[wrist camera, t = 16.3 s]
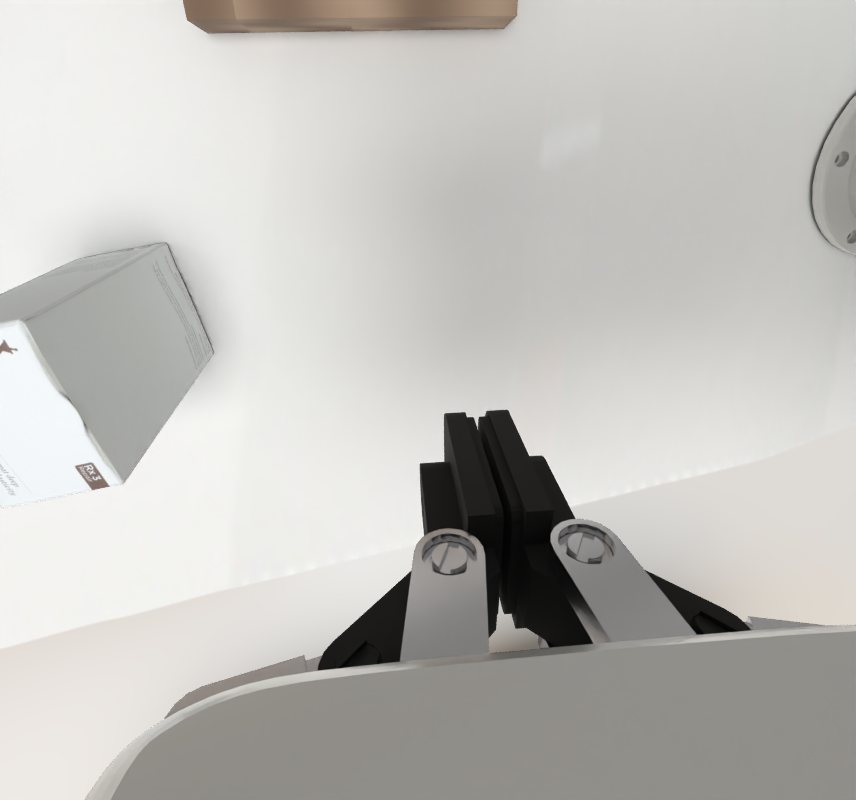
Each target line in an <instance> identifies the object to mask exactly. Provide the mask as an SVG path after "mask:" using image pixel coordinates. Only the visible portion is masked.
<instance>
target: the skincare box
mask: <svg viewBox="0 0 856 800" xmlns="http://www.w3.org/2000/svg"><path fill="white" fill-rule="evenodd" d="M213 354H214V353H213V350H212V348H211V345H210V343H209V341H208V338H207V336H206V334H205V331H204V329H203V326H202V324H201V322H200V319H199V317H198V315H197V312H196V310H195V308H194V305H193V303H192V301H191V299H190V296H189V294H188V292H187V289H186V287H185V285H184V282H183V280H182V278H181V276H180V274H179V272H178V270H177V268H176V266H175V263H174V261H173V258H172V256H171V253H170V251H169V248H168V246H167V244H166V243H159V244H154V245H148V246H143V247H137V248H132V249H126V250H121V251H116V252H111V253H106V254H100V255H95V256H90V257H85V258H80V259H76V260H74V261H72V262H70V263H67V264H65V265H63V266H61V267H58V268H56V269H54V270H52V271H50V272H48V273H45V274H43V275H41V276H39V277H37V278H34V279H32V280H30V281H28V282H26V283H24V284H22V285H20V286H17V287H15V288H13V289H11V290H9V291H7V292H4V293H2V294H0V507H1V508H8V507H14V506H20V505H25V504H29V503H34V502H39V501H44V500H48V499H53V498H58V497H63V496H68V495H72V494H77V493H82V492H87V491H91V490H96V489H100V488H104V487H110V486H115V485H121V484H124V483H125V481H126V480H127V478H128V477H129V475H130V474H131V473H132V471H133V470H134V468H135V467H136V465H137V464H138V462H139V461H140V459H141V458H142V457H143V455H144V454H145V452H146V451H147V449H148V448H149V446H150V445H151V443H152V442H153V440H154V439H155V437H156V436H157V435H158V433H159V431H160V430H161V429H162V427H163V426H164V425H165V423H166V422H167V420H168V419H169V417H170V416H171V415H172V413H173V412H174V410H175V409H176V407H177V406H178V404H179V403H180V401H181V400H182V399H183V397H184V396H185V394H186V393H187V391H188V390H189V388H190V387H191V386H192V384H193V383H194V381H195V380H196V378H197V377H198V375H199V374H200V373H201V371H202V370H203V368H204V367H205V365H206V364H207V362H208V361H209V360H210V358H211V357H212V355H213Z"/></svg>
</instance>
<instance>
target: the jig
mask: <svg viewBox="0 0 856 800" xmlns="http://www.w3.org/2000/svg"><path fill="white" fill-rule="evenodd" d="M517 1H518V0H183V3H184V7H185V12H186V17H187V20H188V21H189V22H191V23H193V24H194V25H196V26H197V27H199V28H200V29H202V30H204V31H205V32H207V33H249V32H315V31H381V30H447V29H504V28H505V27H506V26H507V25H508V24H509V23H510V22H511V21H512V20H513V19H514V18H515V17H516V16H517Z"/></svg>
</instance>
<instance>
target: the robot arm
mask: <svg viewBox="0 0 856 800" xmlns="http://www.w3.org/2000/svg"><path fill="white" fill-rule="evenodd" d="M812 204H813V209H814V215H815V219H816V222H817V224H818V226H819V228H820V230H821V233H822V234H823V235H824V236H825V237H826V238H827V240H828V241H829V242H830V243H831V244H833V245H834V246H836V247H837V248H839V249H840V250H842V251H845V252H848V253H851V254H854V255H856V95H855V96H854V97H853V98H852V100H851V101H850V102H849V103H848V105H847V106H846V108H845V109H844V111H843V112H842V114H841V115H840V116H839V118H838V119H837V121H836V122H835V124H834V126H833V128H832V130H831V132H830V134H829V136H828V138H827V139H826V141H825V143H824V146H823V149H822V152H821V154H820V157H819V160H818V163H817V166H816V171H815V176H814V181H813V197H812ZM420 486H421V504H422V517H423V528H424V537H422V539H421V540H420V541H419V542H418V543H417V545H416V548H415V551H414V557H413V564H412V571H411V572H409V573H408V574H407V575H406V576H405V577H404V578H403V579H402V580H401V581H400V582H398V583H397V584H396V585H395V586H394V587H393V588H392V589H391V590H390V591H389V592H387V593H386V594H385V595H384V596H383V597H382V598H381V599H380V600H379V601H377V602H376V603H375V604H374V605H373V606H372V607H371V608H370V609H369V610H367V611H366V612H365V613H364V614H363V615H362V616H361V617H360V618H359V619H358V620H356V621H355V622H354V623H353V624H352V625H351V626H350V627H349V628H348V629H347V630H345V631H344V632H343V633H342V634H341V635H340V636H339V637H338V638H337V639H335V640H334V641H333V642H332V643H331V645H330V646H329V647H328V648H327V649H326V650H325V652H324V653H323V655H322V656H320V657H317V658H313V659H310V660H307V661H306V660H305V656H304V655H303V656H300V657H297V658H293V659H290V660H287V661H283V662H280V663H277V664H274V665H270V666H267V667H264V668H261V669H258V670H255V671H251V672H248V673H244V674H241V675H238V676H235V677H232V678H228V679H225V680H222V681H218V682H215V683H212V684H209V685H205V686H202V687H200V688H198V689H196V690H194V691H192V692H189V693H188V694H186V695H185V696H184V697H183V698H182V699H180V700H179V701H178V702H177V703H176V704H175V705H174V706H173V707H172V709H171V711H170V712H169V713H168V714H167V716H166V717H165V719H164V720H162V721H161V722H159V723H157V724H156V725H155V726H153V727H151V728H150V729H148V730H147V731H145V732H144V733H143V734H141V735H140V736H139V737H138V738H136V739H135V740H134V741H133V742H131V743H130V744H129V745H128V746H127V747H126V748H125V749H124V750H123V751H121V752H120V753H119V755H118V756H117V757H116V758H115V759H114V760H113V761H112V763H111V764H110V765H109V766H108V767H107V768H106V770H105V771H104V772H103V773H102V775H101V776H100V778H99V779H98V781H97V782H96V784H95V785H94V786H93V788H92V790H91V791H90V792H89V794H88V795H87V797H86V798H85V800H856V625H818V624H809V623H800V622H791V621H783V620H775V619H766V618H758V617H748V619H747V621H746V622H743V621H742V620H741V619H739V618H738V617H737V616H735V615H734V614H732V613H731V612H729V611H727V610H726V609H724V608H722V607H720V606H718V605H716V604H714V603H712V602H709V601H707V600H705V599H703V598H701V597H699V596H697V595H695V594H693V593H691V592H689V591H687V590H684V589H683V588H680V587H679V586H676V585H674V584H672V583H670V582H668V581H666V580H664V579H662V578H660V577H658V576H656V575H654V574H652V573H649V572H648V571H646V570H644V569H643V567H642V566H641V565H640V564H639V563H638V561H637V560H636V559H635V558H634V556H633V555H632V554H631V553H630V551H629V550H628V549H627V548H626V546H625V545H624V544H623V543H622V542H621V540H620V539H619V538H618V537H617V536H616V535H615V534H614V533H613V532H612V531H611V530H610V529H608V528H607V527H605V526H603V525H602V524H599V523H596V522H593V521H590V520H584V519H575V517H574V515H573V513H572V511H571V509H570V507H569V505H568V503H567V501H566V499H565V497H564V495H563V493H562V491H561V489H560V487H559V485H558V483H557V482H556V480H555V478H554V476H553V474H552V472H551V470H550V468H549V466H548V464H547V462H546V460H545V458H544V457H543V456H529V455H528V452H527V450H526V448H525V446H524V444H523V442H522V439H521V437H520V435H519V433H518V431H517V429H516V426H515V424H514V422H513V420H512V418H511V416H510V413H509V411H508V410H495V411H487V412H486V415H485V416H484V417H479V420H478V429H477V426H476V423H475V420H474V417H468V418H467V416H466V413H465V412H462V413H445V414H444V462H436V463H421V464H420ZM499 597H500V601H501V605H502V609H503V612H504V614H512V617H513V621H514V625H515V628H516V629H517V628H527V629H529V630H531V631H532V632H534V633H535V634H537V635H538V645H539V648H540V649H531V650H520V651H509V652H498V653H489V637H490V636H491V635H492V634H493V632H494V631H495V630H496V622H497V614H498V606H499Z"/></svg>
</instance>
